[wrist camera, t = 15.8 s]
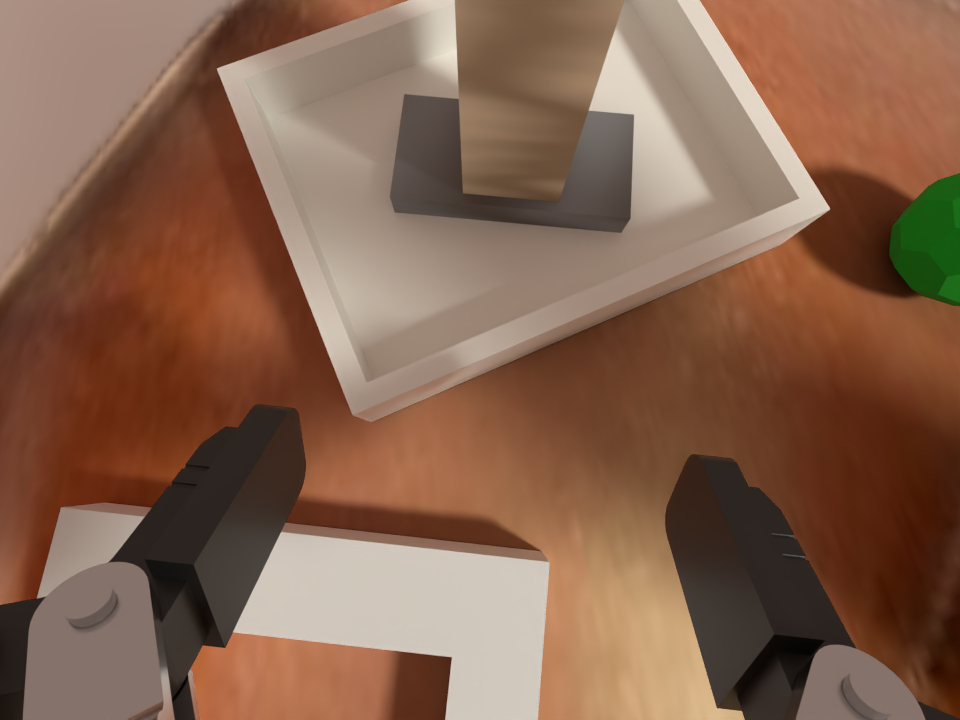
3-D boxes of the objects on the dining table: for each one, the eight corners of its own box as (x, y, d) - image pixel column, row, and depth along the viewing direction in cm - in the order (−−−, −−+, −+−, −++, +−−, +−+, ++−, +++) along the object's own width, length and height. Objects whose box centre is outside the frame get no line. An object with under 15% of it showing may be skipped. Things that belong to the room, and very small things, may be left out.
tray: (624, -15, 23) (646, -84, 20) (779, 245, 21) (830, 209, 18) (252, 122, 21) (216, 68, 18) (371, 422, 19) (352, 414, 16)
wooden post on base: (625, 134, 21) (833, -319, 9) (621, 232, 20) (847, -119, 8) (408, 114, 21) (317, -361, 9) (394, 212, 20) (273, -168, 8)
